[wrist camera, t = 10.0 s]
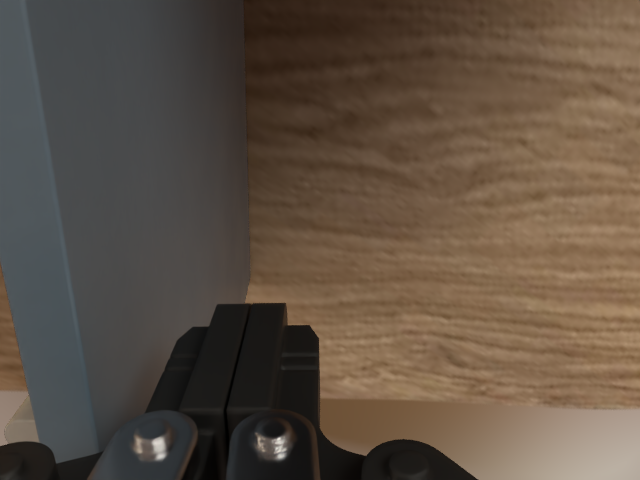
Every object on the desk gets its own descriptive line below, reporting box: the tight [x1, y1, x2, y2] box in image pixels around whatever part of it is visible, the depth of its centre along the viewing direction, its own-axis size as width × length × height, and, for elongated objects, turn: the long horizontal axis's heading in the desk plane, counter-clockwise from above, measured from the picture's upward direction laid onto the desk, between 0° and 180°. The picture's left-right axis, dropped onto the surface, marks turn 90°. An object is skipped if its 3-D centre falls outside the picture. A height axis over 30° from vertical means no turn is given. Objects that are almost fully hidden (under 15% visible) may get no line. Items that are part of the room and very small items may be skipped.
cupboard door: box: [0, 0, 250, 464], centre depth 20 cm, size 7×26×25 cm, turn 179°
